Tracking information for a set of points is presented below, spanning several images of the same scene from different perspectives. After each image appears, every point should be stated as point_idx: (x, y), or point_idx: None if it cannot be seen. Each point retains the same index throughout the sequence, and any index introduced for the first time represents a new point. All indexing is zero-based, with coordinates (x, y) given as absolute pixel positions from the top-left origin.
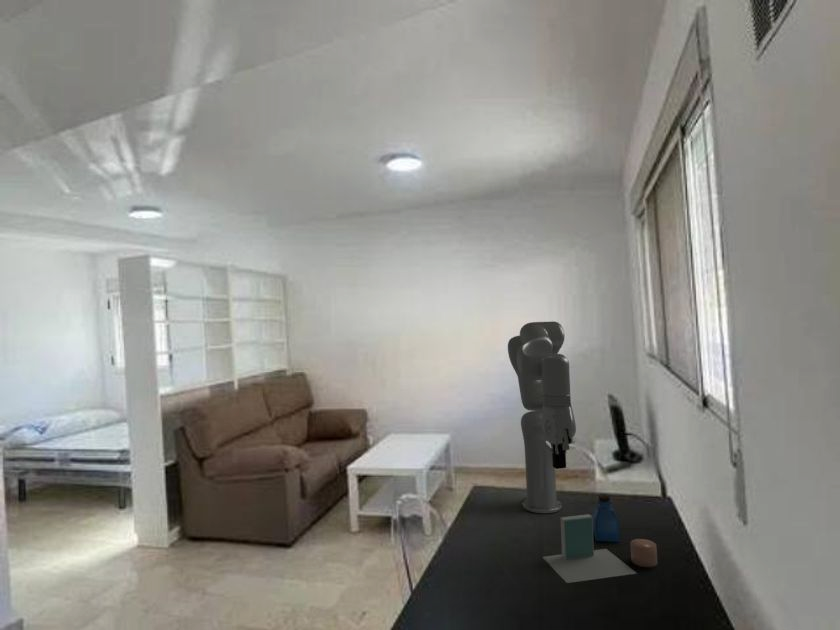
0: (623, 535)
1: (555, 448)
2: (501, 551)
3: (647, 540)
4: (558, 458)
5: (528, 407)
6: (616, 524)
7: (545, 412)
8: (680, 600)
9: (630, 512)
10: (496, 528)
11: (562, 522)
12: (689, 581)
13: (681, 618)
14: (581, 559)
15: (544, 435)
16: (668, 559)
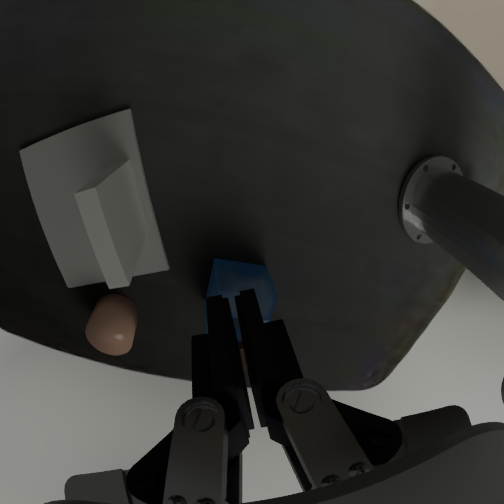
0: None
1: (215, 452)
2: (192, 14)
3: (125, 349)
4: (196, 378)
5: None
6: (207, 326)
7: None
8: (19, 310)
9: (345, 348)
10: (344, 39)
11: (86, 187)
12: (71, 343)
13: None
14: None
15: (459, 500)
16: (139, 348)
